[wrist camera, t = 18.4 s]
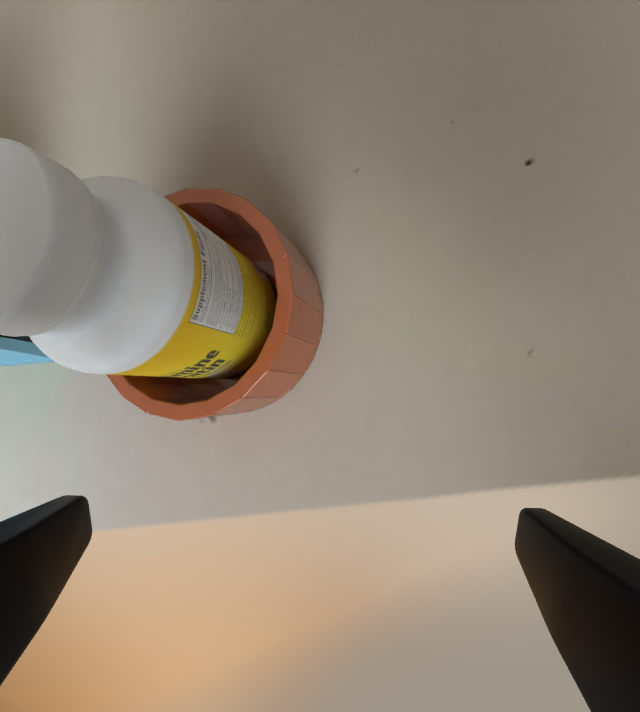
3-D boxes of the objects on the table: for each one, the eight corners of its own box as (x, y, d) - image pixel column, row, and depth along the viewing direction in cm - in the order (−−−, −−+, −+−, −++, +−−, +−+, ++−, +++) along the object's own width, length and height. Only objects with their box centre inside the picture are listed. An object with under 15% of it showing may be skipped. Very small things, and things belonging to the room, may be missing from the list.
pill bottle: (162, 353, 21) (-143, 313, 10) (205, 246, 21) (-59, 80, 9) (258, 399, 19) (13, 416, 8) (306, 281, 19) (123, 125, 8)
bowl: (357, 357, 18) (334, 348, 14) (195, 443, 20) (133, 458, 16) (273, 194, 20) (232, 142, 16) (135, 289, 22) (66, 265, 18)
